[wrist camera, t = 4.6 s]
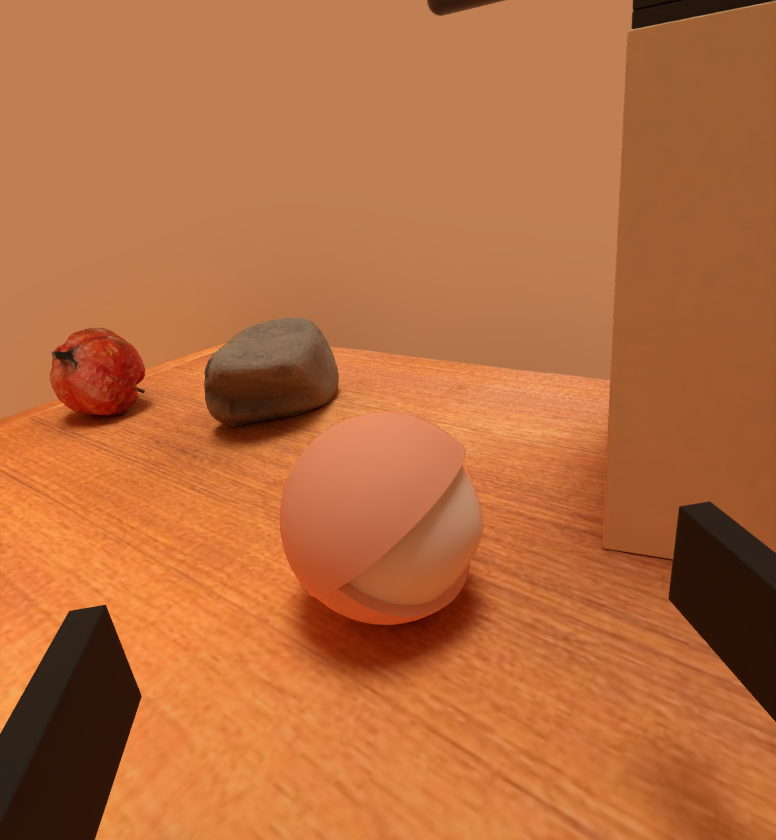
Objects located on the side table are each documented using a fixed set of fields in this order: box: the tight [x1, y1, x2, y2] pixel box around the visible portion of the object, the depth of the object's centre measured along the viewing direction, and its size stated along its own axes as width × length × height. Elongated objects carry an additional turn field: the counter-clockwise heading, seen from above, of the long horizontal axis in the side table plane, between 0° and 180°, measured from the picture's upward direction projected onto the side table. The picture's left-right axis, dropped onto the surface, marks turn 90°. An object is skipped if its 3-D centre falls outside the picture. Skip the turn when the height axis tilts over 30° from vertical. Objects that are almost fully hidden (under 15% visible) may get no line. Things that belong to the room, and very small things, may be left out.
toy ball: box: [280, 412, 483, 625], centre depth 22 cm, size 8×8×8 cm
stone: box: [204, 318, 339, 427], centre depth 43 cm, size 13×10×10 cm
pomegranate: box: [50, 328, 145, 415], centre depth 47 cm, size 7×7×10 cm
